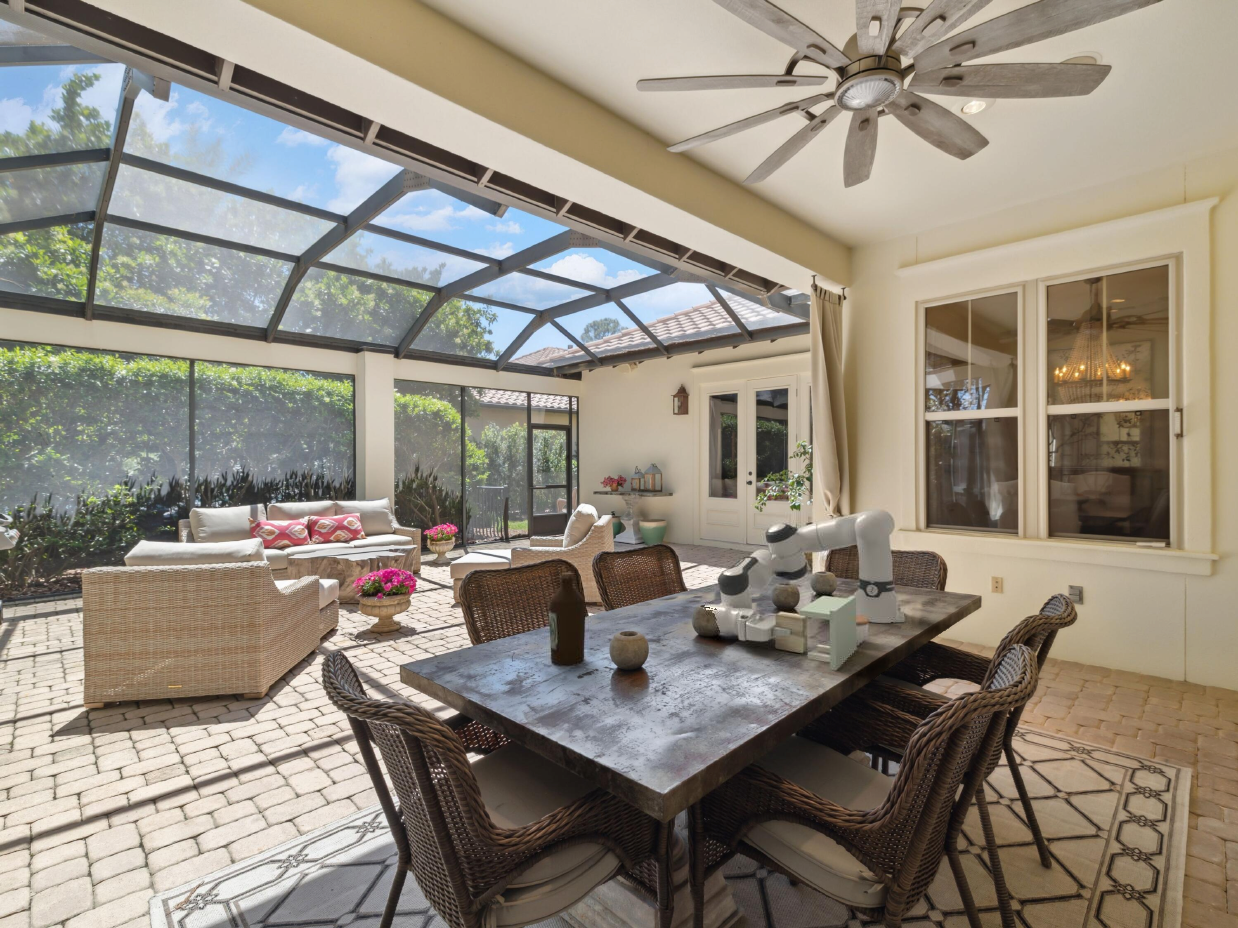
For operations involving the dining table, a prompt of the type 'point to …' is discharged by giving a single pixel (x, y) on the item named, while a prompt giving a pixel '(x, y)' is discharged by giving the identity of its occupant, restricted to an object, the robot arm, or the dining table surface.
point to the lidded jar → (861, 628)
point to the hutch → (835, 628)
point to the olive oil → (567, 624)
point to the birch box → (799, 632)
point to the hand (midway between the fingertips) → (794, 630)
